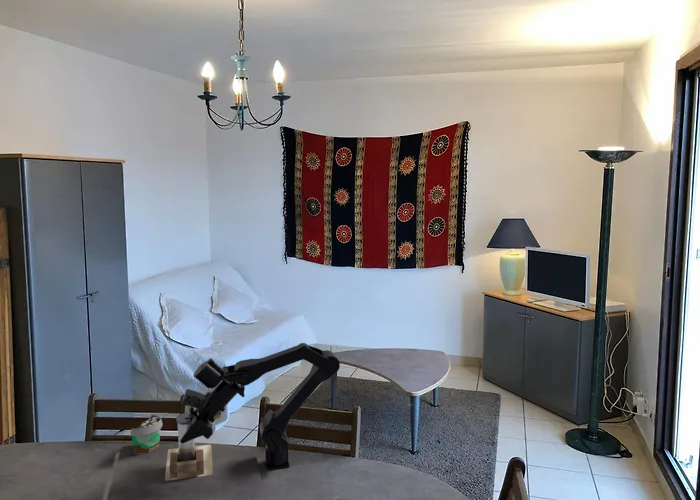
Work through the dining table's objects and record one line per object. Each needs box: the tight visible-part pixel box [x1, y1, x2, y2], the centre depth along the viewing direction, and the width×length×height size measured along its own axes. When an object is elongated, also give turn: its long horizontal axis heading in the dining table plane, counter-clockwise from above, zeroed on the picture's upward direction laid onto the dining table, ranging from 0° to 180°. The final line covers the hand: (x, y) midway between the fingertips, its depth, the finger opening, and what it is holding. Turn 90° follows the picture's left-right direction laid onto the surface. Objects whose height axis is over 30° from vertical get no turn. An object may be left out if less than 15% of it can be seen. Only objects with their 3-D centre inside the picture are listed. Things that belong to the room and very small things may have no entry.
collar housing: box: [164, 444, 214, 481], centre depth 168 cm, size 13×19×6 cm
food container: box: [130, 413, 163, 455], centre depth 176 cm, size 12×6×10 cm, turn 168°
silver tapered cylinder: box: [175, 412, 196, 462], centre depth 162 cm, size 5×5×13 cm
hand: (181, 438), depth 162 cm, fingers closed on silver tapered cylinder, 4 cm apart
